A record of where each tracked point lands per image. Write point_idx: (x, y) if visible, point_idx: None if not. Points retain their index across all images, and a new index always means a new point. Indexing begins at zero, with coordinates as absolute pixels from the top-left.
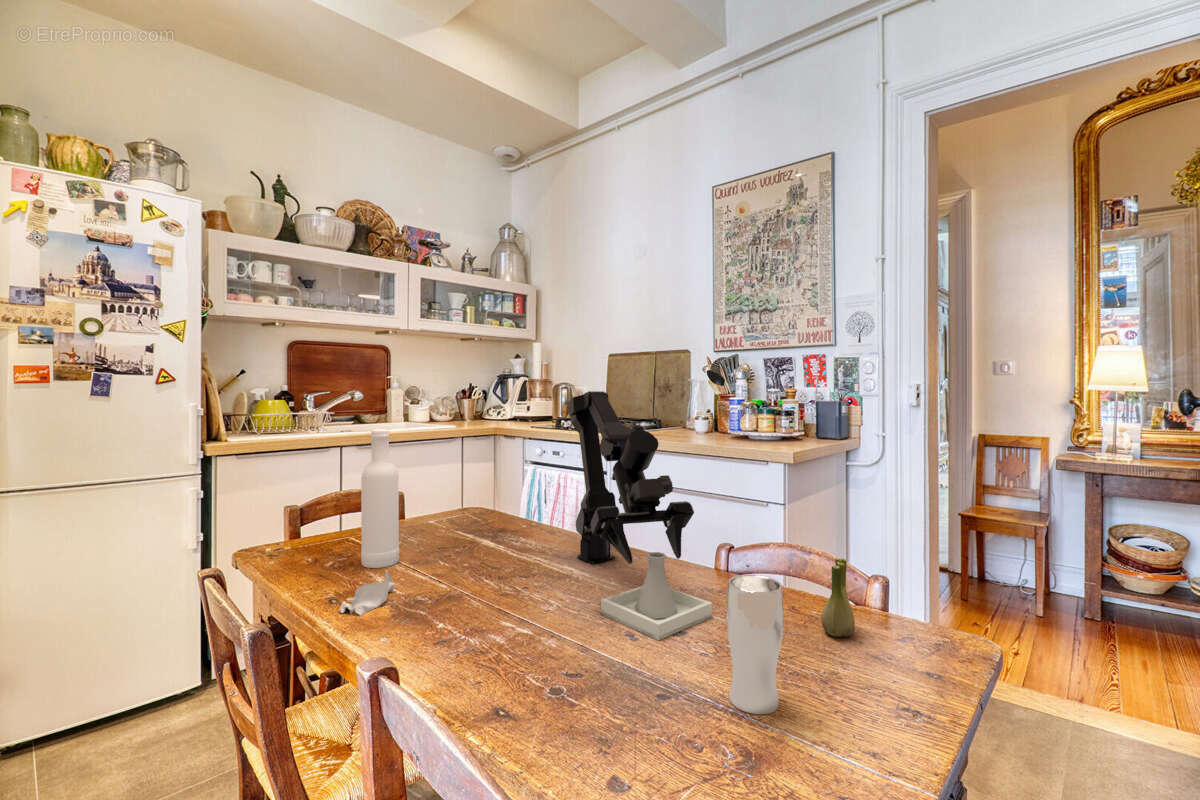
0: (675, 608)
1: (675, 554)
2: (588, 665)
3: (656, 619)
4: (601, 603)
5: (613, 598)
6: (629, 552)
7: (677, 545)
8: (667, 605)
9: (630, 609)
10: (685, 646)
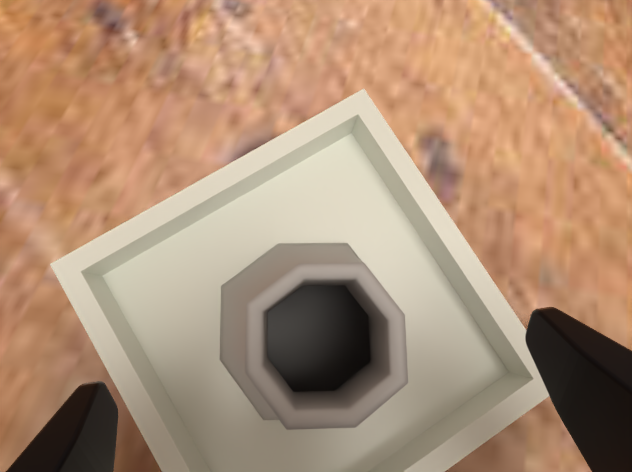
0: (231, 281)
1: (110, 456)
2: (592, 10)
3: None
4: None
5: (501, 399)
6: (593, 349)
7: (53, 462)
8: (274, 257)
9: (410, 368)
10: (277, 64)
